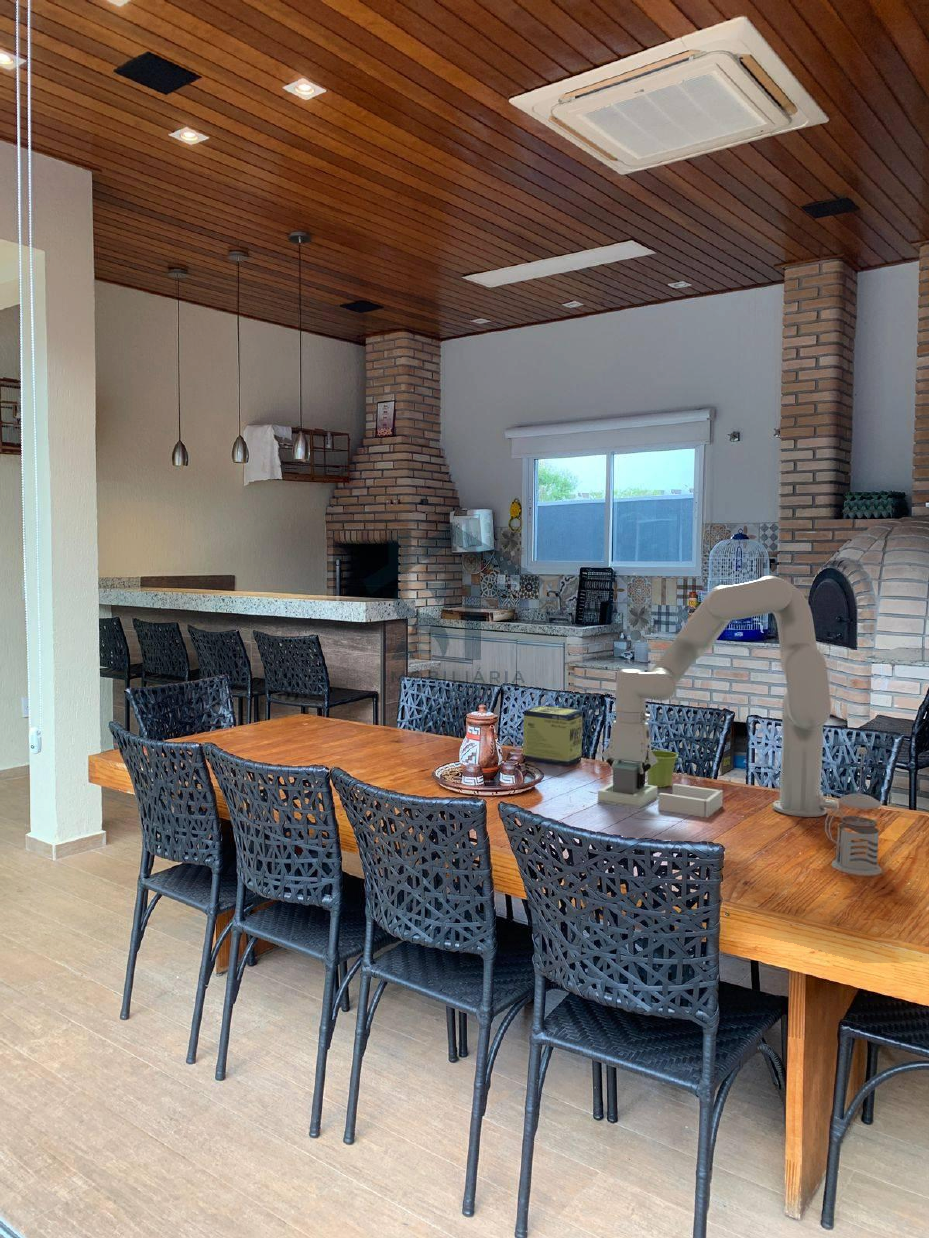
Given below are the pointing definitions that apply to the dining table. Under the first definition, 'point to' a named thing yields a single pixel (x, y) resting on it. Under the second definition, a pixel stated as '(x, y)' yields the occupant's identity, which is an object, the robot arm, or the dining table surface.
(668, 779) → the plant pot
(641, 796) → the tray
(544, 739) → the protein box
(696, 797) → the bay
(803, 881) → the dining table surface
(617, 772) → the grey cube with lid
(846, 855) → the french press
